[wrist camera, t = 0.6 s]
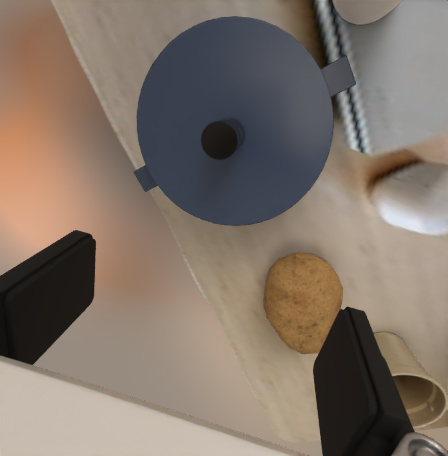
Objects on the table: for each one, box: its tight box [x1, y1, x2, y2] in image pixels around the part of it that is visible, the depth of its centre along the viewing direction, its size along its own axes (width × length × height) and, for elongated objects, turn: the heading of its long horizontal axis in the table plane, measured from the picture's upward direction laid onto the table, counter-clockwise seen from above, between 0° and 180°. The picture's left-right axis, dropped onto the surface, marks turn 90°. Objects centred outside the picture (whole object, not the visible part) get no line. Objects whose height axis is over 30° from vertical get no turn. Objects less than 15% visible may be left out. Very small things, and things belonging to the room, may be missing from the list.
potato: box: [264, 253, 343, 354], centre depth 38 cm, size 10×14×8 cm
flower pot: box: [374, 332, 448, 429], centre depth 39 cm, size 9×9×9 cm
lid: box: [137, 16, 333, 226], centre depth 25 cm, size 18×18×6 cm
